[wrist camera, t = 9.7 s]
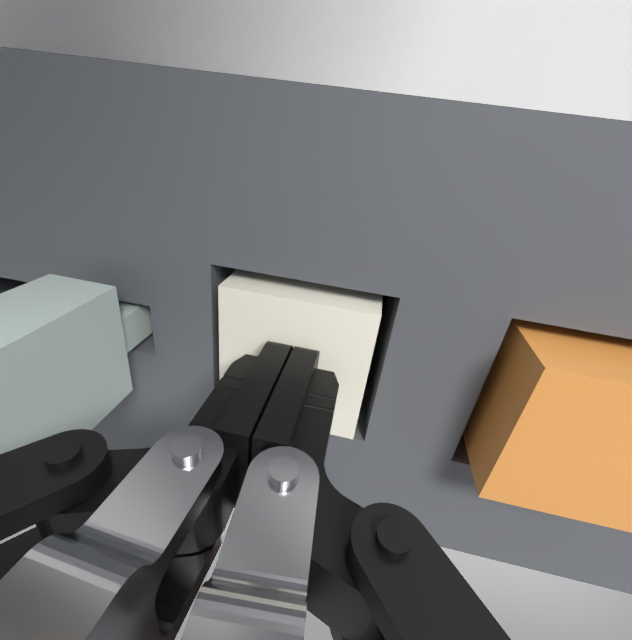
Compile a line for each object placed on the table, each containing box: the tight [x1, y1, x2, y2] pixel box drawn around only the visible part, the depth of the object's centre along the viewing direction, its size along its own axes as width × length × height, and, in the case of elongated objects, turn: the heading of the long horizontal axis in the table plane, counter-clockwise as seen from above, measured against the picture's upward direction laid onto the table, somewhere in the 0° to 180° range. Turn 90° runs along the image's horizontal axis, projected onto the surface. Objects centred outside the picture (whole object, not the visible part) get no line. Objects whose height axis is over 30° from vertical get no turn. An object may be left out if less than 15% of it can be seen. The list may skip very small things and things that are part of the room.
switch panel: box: [0, 47, 632, 594], centre depth 12 cm, size 14×28×4 cm, turn 83°
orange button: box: [463, 318, 632, 533], centre depth 10 cm, size 4×4×4 cm
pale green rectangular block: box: [0, 274, 153, 454], centre depth 10 cm, size 4×2×10 cm, turn 173°
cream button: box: [218, 269, 382, 439], centre depth 12 cm, size 4×4×4 cm
